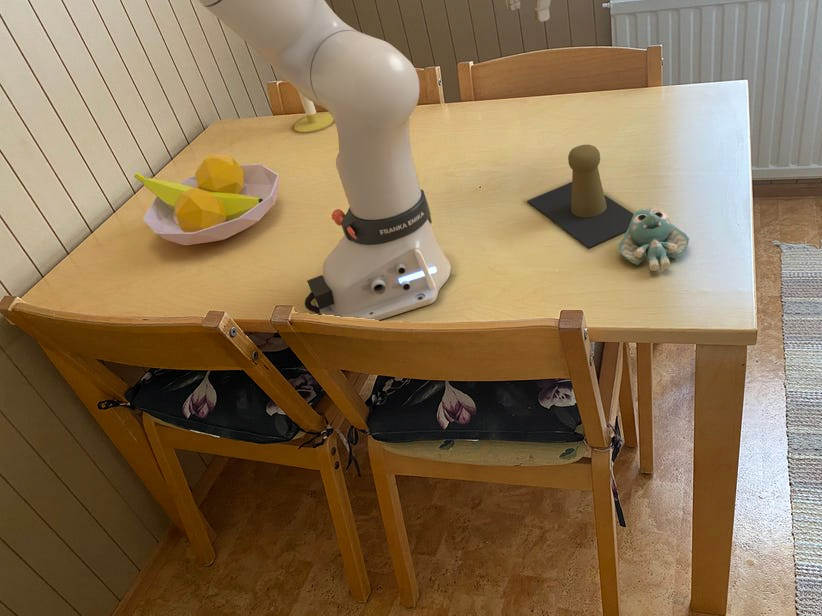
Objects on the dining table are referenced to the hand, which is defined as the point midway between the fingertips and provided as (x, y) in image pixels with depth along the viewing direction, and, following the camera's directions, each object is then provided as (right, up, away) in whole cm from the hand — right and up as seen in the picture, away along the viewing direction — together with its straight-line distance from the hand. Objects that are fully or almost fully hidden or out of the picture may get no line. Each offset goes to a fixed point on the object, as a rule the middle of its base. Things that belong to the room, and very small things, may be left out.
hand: (527, 14), depth 120 cm
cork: (+11, -30, +8) cm, 33 cm away
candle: (-47, +1, +60) cm, 76 cm away
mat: (+10, -30, +7) cm, 33 cm away
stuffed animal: (+19, -39, -5) cm, 44 cm away
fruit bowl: (-60, -28, +29) cm, 72 cm away
